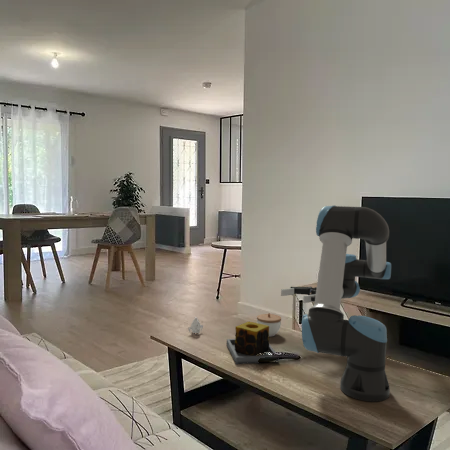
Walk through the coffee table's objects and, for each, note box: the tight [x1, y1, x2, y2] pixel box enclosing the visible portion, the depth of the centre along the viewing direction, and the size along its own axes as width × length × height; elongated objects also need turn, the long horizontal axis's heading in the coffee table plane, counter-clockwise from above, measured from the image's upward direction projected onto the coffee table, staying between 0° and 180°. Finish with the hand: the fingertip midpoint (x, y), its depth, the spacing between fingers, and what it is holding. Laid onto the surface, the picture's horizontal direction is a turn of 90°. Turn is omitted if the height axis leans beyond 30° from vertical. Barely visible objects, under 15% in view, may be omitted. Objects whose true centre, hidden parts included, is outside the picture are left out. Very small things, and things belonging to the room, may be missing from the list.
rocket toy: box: [187, 316, 204, 335], centre depth 195 cm, size 5×5×8 cm
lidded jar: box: [256, 312, 282, 337], centre depth 197 cm, size 11×11×9 cm
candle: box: [234, 321, 270, 356], centre depth 173 cm, size 10×10×10 cm
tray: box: [226, 338, 279, 365], centre depth 173 cm, size 20×16×2 cm
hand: (292, 295), depth 180 cm, fingers open, 13 cm apart
